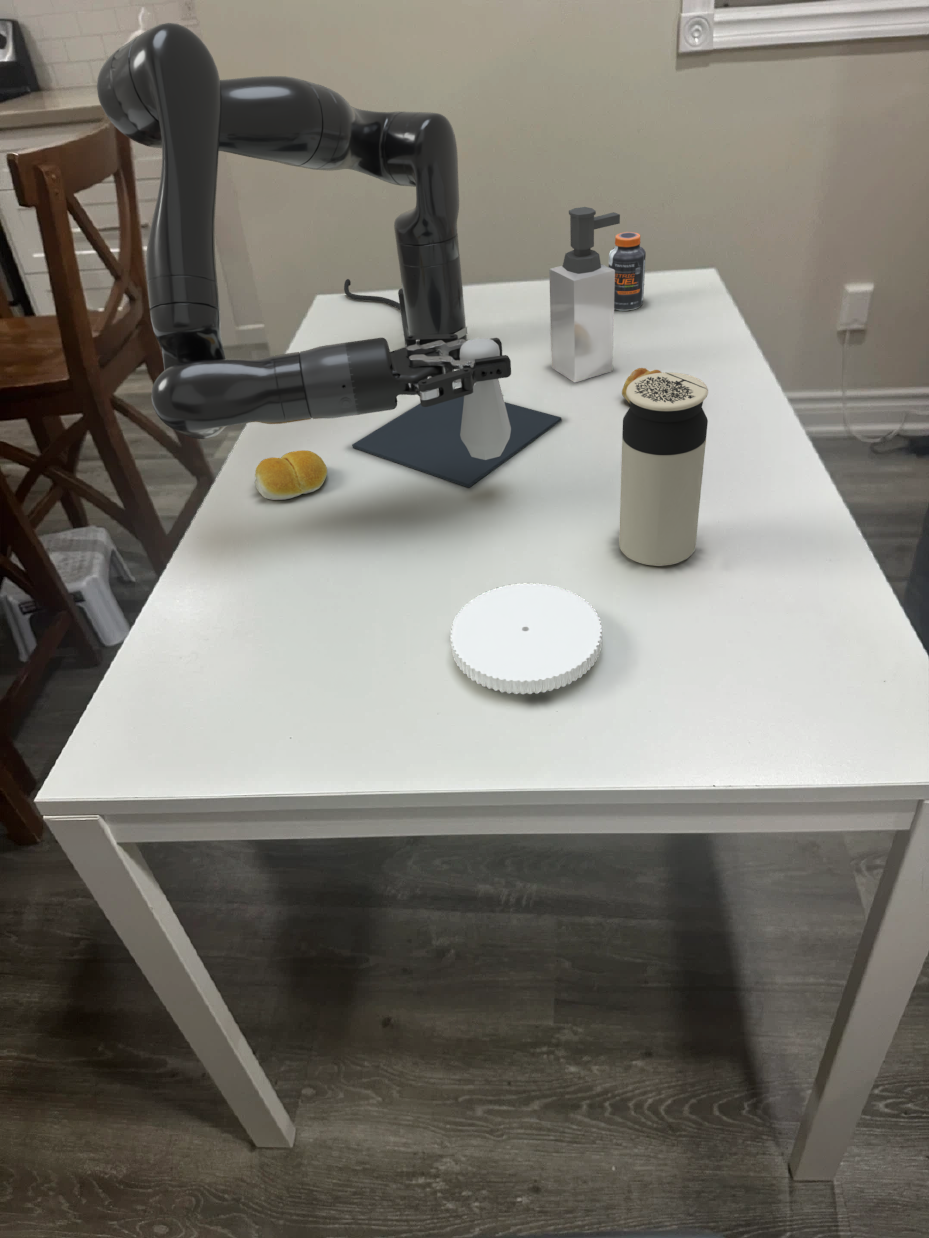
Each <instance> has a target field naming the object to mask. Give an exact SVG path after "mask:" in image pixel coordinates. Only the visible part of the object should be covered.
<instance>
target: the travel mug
mask: <svg viewBox="0 0 929 1238" xmlns="http://www.w3.org/2000/svg"><path fill="white" fill-rule="evenodd" d="M626 394H627V397H628V399H629V400H630V403H629V408H628V409H627V411H626V413H625V414H624V416H623V418H622V432H621V434H622V436H621V437H622V438H621V465H620V466H621V467H620V468H621V470H620V471H621V472H620V498H619V499H620V500H619V501H620V502H619V531H618V534H619V535H618V547H619V549H620V551H621V552H622V554H623V555H624V556H626V557H627V558H628V559H630V560H632V561H634V562H636V563H638V564H642V565H647V566H654V567H663V566H671V565H675V564H679V563H682V562H683V561H686V560H687V559H688V558H690V557H691V556H692V555H693V554H694V552H695V549H696V545H697V535H698V524H699V514H700V506H701V505H700V503H701V495H702V485H703V475H704V474H703V473H704V465H705V464H704V463H705V454H706V444H707V433H708V423H709V420H708V417H707V414H706V413H705V411H704V409H703V404H704V401H705V400H706V398H707V397H708V395H709V388H708V386H707V384H706V383H705V382H704V381H703V380H701V379H700V378H698V377H696V376H693V375H689V374H686V373H682V372H670V371H669V372H667V371H665V372H662V373H654V374H649V375H645V376H642V377H640V378H637V379H636V380H634V381H632V382H631V383H630V384H629V385H628V387H627V390H626Z"/></svg>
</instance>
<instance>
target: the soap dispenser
mask: <svg viewBox="0 0 929 1238" xmlns="http://www.w3.org/2000/svg"><path fill="white" fill-rule="evenodd" d="M596 214H597V210H595V209H594V208H592V207H587V206H580V207H574V208H572V209H570V210H568V215H569V217H570V219H569V220H570V224H569V225H570V231H569V233H570V247H571V248H572V250H570V251H568V252H565V254H564V258H563V262H562V265H558V266H555V267H551V268H548V271H549V277H548V278H549V313H550V314H549V318H550V320H549V321H550V357H551V362H550V363H551V369H553V370H554V371H555V372H558V373H559V374H560V375H562V376H564V377H565V378H566V379H568V380H569V381H571V382H573V383H574V384H576V383H579V382H582V381H585V380H588V379H591V378H596V377H598V376H601V375H604V374H608V373H610V372H613V371H614V370H613V367H614V324H615V309H614V288H615V270H614V269H612V268H609V266H607V265H605V264H602V263H601V258H600V256H601V255H600V253H599V252H597V251H596V250H594V249H591V248H594V247H595V230H598V229H602V228H607V227H611V226H615V225H619V224H621V214H620V213H617V212H610V213H605V214H602V215H601V214H600V215H598V216H595V215H596Z"/></svg>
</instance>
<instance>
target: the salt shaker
mask: <svg viewBox="0 0 929 1238" xmlns="http://www.w3.org/2000/svg"><path fill="white" fill-rule="evenodd" d="M495 356H500V350H499V346H498V344H497V343H496V342H494V341H493V340H491V338H488V337H476V338H475V337H474V338H472V339H468V341H466V342H465V343H463V345H462V346H461V349H460V360H473V361H475V359H481V358H488V357H495ZM504 402H505V399H504V395H503V392H502V386H501V384H500V379H493V380H486V381H479V382H477V384H476V385H475V386H473V393H472V394H469V395H466V396H464V404H463V414H462V423H461V433H460V436H461V440H462V441H463V443H464V444H465V446H466V447H467V449H468V451H469V453H470V455H471V457H474V458H479V459H483V460H487V459H491V458H495V457H499V456H500V455H501V454H502V452H503V450H504V448H505V446H506V444H507V442H508V440H509V438H510V433H511V426H510V422H509V418H508V414H507V411H506V407H505V403H504Z"/></svg>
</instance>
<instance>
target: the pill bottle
mask: <svg viewBox="0 0 929 1238" xmlns="http://www.w3.org/2000/svg"><path fill="white" fill-rule="evenodd" d="M614 245H615V246H614V247H613V248H612V249H610V251H609V254H608V267H609V268H612V269H614V270H615V288H614V311H622V312H623V311H625V312H627V311H633V310H636V309H639V308H640V307H642V306H643V304H644V297H645V296H644V295H645V279H646V278H645V277H646V276H645V275H646V257H647V256H646V255H647V254H646V250H645V249H644V247H642V246H641V234H640V233H639V232H634V231H624V232H620V233H617V234H616V235H615V238H614Z"/></svg>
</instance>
